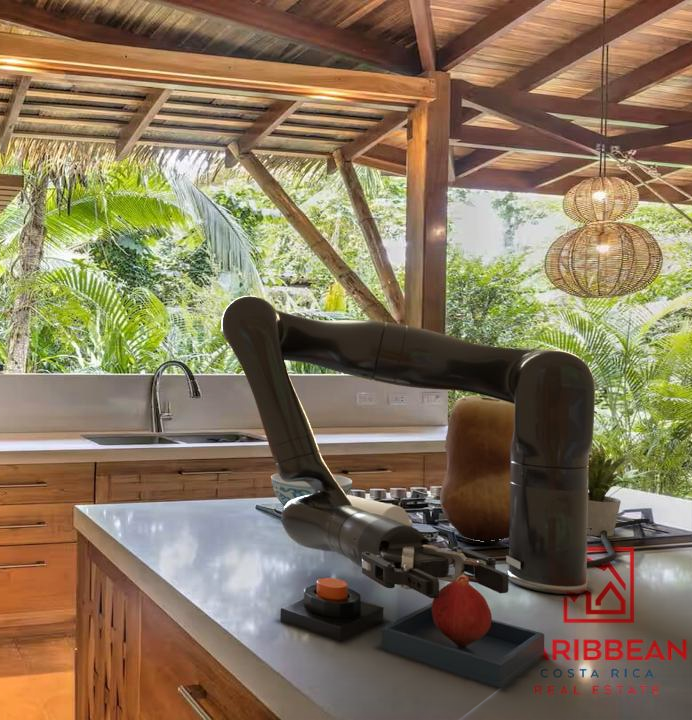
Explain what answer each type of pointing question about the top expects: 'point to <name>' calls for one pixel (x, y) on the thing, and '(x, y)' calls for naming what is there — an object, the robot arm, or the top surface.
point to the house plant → (603, 492)
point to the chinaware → (302, 487)
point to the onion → (461, 612)
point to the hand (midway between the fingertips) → (471, 586)
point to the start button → (332, 588)
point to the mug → (381, 509)
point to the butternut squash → (479, 468)
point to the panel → (332, 614)
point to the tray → (465, 648)
